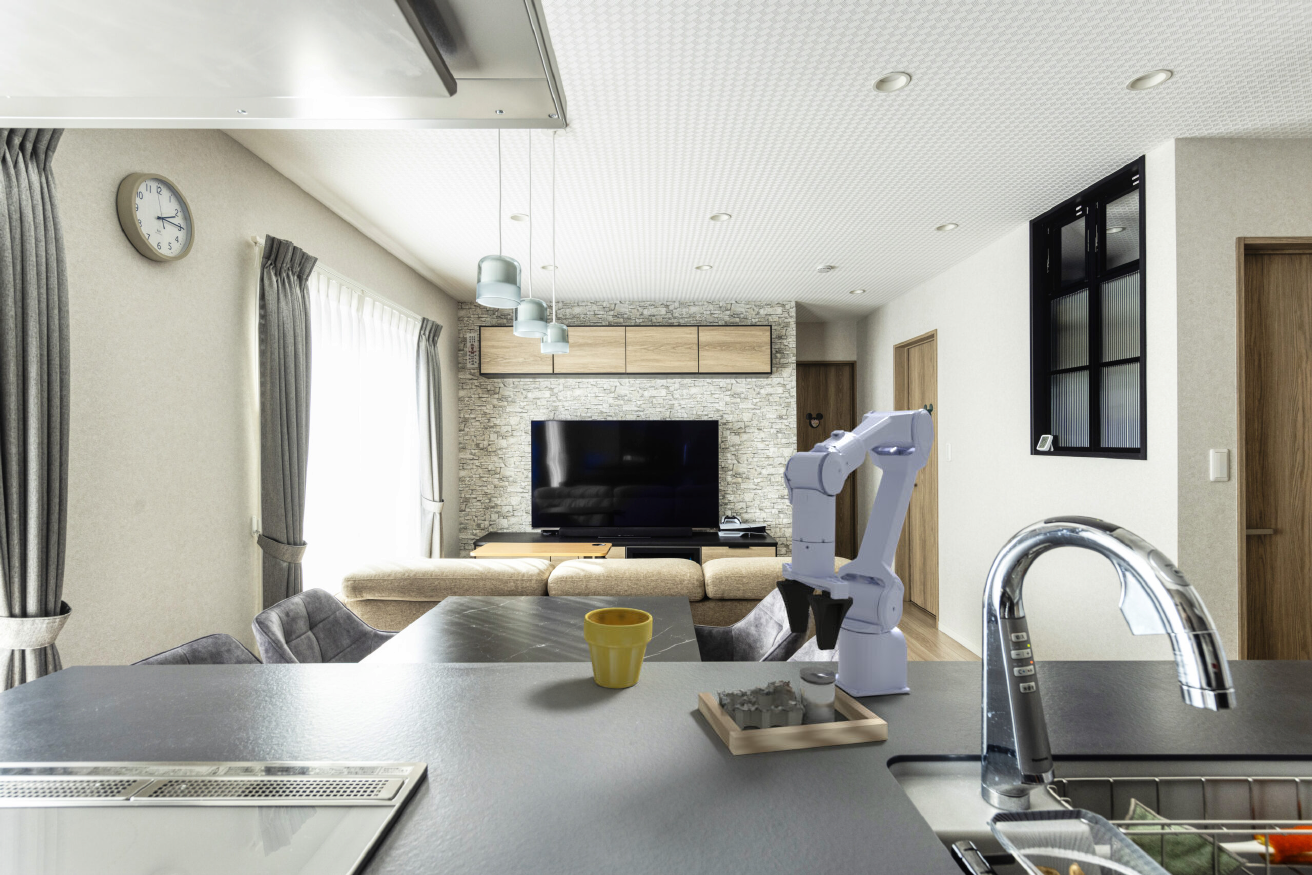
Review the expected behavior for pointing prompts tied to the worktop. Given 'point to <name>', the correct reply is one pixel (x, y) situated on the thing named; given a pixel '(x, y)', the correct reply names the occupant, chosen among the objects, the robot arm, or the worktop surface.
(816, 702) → the jar with metallic lid
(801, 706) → the egg carton
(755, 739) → the beech bay
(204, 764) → the worktop surface
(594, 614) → the plant pot
